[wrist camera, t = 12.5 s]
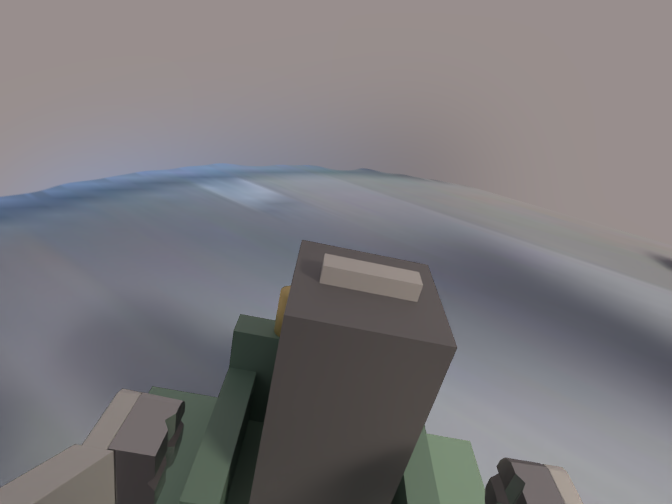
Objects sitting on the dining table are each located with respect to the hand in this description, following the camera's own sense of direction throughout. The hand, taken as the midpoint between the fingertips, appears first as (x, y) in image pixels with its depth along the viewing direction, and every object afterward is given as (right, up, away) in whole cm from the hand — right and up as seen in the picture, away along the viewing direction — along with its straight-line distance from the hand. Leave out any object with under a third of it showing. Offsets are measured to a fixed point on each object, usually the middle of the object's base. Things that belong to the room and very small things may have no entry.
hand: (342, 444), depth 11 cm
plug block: (-1, -5, +7) cm, 8 cm away
